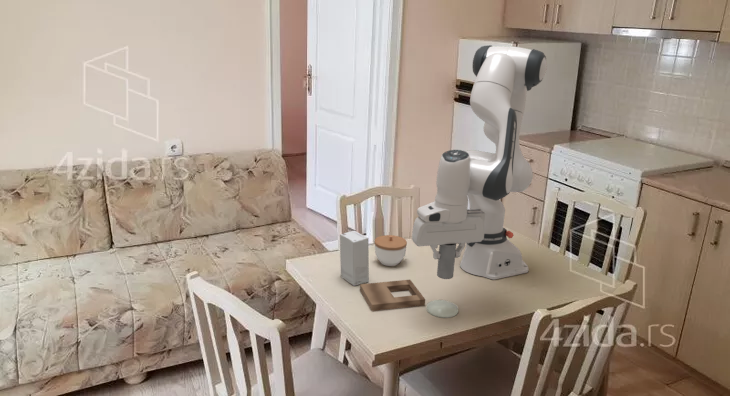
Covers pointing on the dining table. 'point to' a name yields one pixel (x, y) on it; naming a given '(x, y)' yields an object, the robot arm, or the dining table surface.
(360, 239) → the skincare box
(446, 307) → the saucer
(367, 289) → the pocket board
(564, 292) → the dining table surface
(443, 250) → the grey cylinder
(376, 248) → the lidded jar
